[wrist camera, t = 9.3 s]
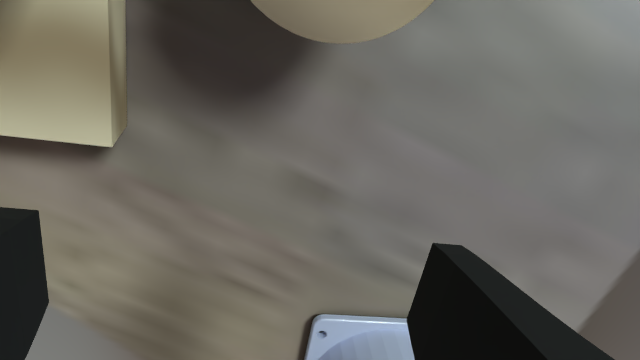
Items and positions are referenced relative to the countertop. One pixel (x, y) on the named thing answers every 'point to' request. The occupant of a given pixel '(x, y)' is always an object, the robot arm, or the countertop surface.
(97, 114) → the notch board
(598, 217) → the countertop surface
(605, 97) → the countertop surface
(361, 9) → the spool
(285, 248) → the countertop surface
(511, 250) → the countertop surface
